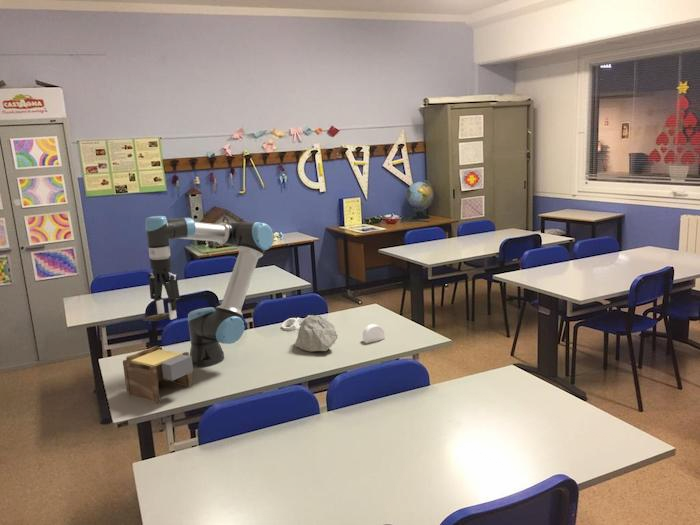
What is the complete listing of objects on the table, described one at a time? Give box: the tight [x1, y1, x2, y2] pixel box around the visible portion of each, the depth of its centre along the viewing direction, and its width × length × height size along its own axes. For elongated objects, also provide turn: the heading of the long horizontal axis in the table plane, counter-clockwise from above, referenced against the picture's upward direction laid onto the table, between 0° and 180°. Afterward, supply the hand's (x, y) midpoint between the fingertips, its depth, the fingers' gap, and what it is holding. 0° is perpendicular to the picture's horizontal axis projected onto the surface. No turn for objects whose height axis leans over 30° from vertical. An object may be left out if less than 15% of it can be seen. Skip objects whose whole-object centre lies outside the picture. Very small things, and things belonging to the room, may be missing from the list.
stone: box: [142, 311, 178, 322], centre depth 215 cm, size 13×5×2 cm, turn 134°
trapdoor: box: [131, 349, 194, 381], centre depth 218 cm, size 13×21×6 cm, turn 57°
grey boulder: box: [293, 314, 338, 352], centre depth 256 cm, size 22×13×15 cm, turn 53°
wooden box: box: [122, 345, 193, 404], centre depth 221 cm, size 17×17×15 cm
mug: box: [281, 317, 305, 331], centre depth 289 cm, size 12×9×10 cm
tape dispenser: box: [362, 323, 386, 344], centre depth 263 cm, size 10×18×11 cm, turn 25°
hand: (167, 317), depth 217 cm, fingers closed on stone, 6 cm apart
